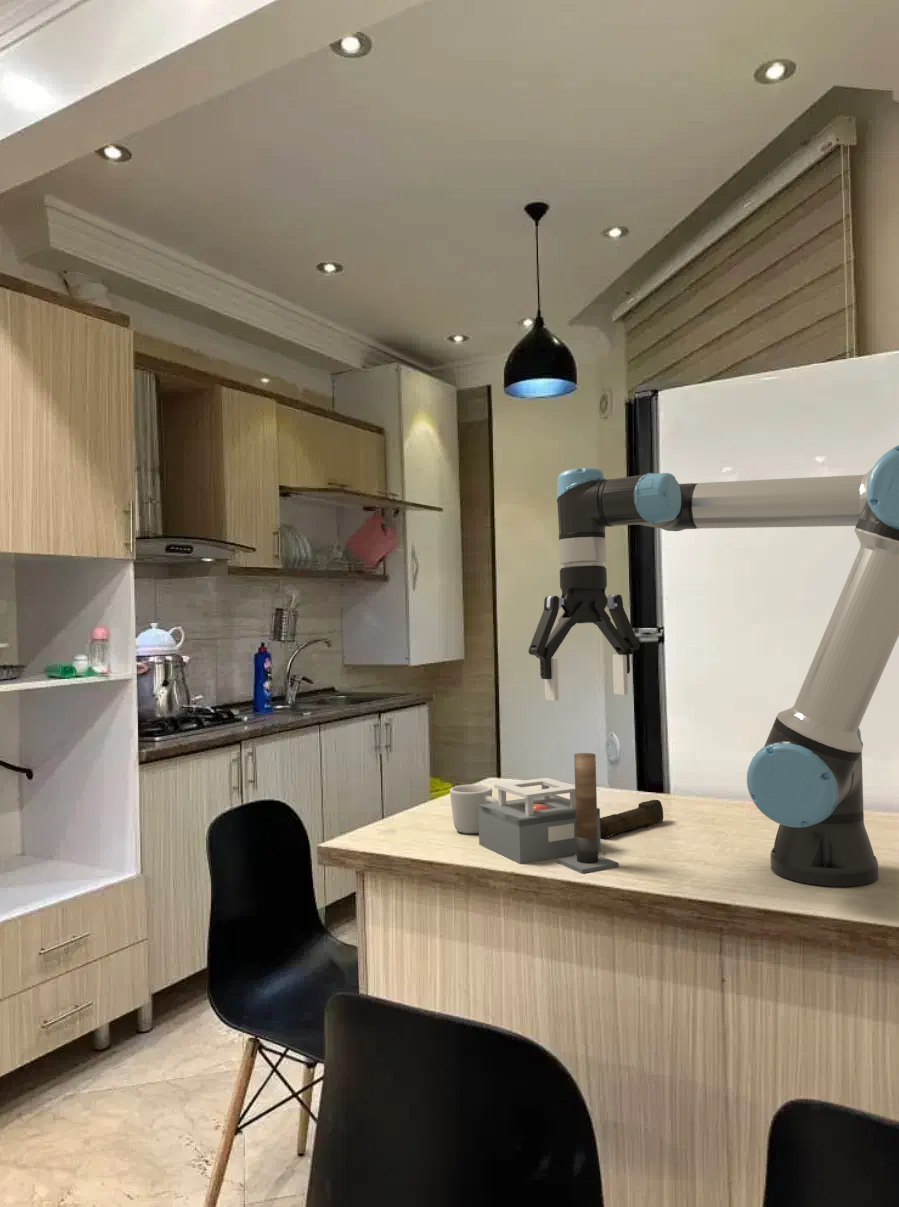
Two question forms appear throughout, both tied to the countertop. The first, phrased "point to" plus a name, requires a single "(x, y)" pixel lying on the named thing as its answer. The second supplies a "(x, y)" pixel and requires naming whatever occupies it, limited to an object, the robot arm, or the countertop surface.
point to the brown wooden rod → (586, 808)
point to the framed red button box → (531, 821)
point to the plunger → (539, 807)
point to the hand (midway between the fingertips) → (587, 697)
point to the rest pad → (583, 867)
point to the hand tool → (632, 818)
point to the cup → (469, 806)
